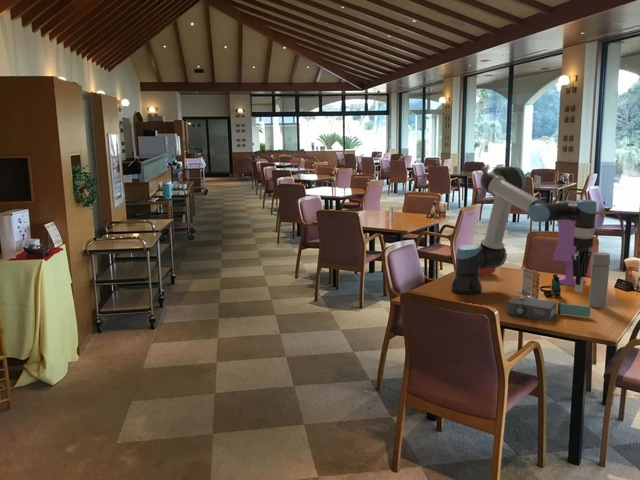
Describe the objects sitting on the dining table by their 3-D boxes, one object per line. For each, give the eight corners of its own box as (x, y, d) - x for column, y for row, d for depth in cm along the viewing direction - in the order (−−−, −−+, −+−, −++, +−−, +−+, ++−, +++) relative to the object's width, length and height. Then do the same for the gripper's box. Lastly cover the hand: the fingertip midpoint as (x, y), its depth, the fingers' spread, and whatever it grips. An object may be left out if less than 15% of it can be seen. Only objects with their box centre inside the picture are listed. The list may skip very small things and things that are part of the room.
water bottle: (605, 309, 256) (610, 256, 252) (586, 307, 260) (591, 254, 256) (607, 304, 264) (612, 252, 259) (589, 302, 268) (593, 250, 263)
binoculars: (538, 274, 282) (559, 273, 280) (539, 294, 284) (560, 293, 282) (541, 278, 274) (563, 277, 272) (542, 299, 275) (564, 298, 273)
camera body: (505, 315, 250) (506, 301, 249) (515, 307, 261) (515, 294, 260) (548, 322, 240) (549, 308, 238) (556, 314, 251) (557, 300, 250)
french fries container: (495, 275, 321) (496, 244, 318) (476, 275, 321) (477, 244, 318) (493, 273, 325) (494, 242, 322) (474, 273, 326) (475, 242, 322)
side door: (589, 318, 245) (590, 306, 244) (557, 314, 250) (557, 302, 249) (589, 316, 246) (590, 305, 245) (557, 313, 252) (558, 301, 251)
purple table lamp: (587, 281, 306) (592, 217, 300) (582, 287, 293) (588, 221, 287) (556, 277, 315) (560, 215, 308) (551, 283, 302) (555, 218, 295)
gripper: (585, 240, 228) (579, 296, 233) (599, 236, 237) (594, 290, 241) (567, 237, 234) (562, 292, 239) (582, 233, 242) (577, 286, 247)
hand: (578, 291), depth 240 cm, fingers closed
